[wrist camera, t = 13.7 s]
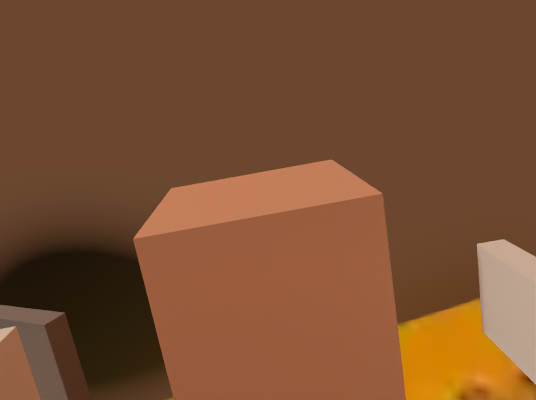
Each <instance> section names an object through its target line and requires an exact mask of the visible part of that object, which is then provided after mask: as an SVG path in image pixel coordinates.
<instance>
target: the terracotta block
mask: <svg viewBox="0 0 536 400" xmlns="http://www.w3.org/2000/svg"><path fill="white" fill-rule="evenodd" d="M133 240H134V244H135V248H136V252H137V256H138V260H139V263H140V268H141V271H142V276H143V280H144V283H145V287H146V291H147V295H148V299H149V303H150V307H151V311H152V315H153V319H154V322H155V327H156V331H157V334H158V339H159V342H160V346H161V350H162V354H163V358H164V362H165V366H166V370H167V374H168V378H169V382H170V386H171V390H172V394H173V398H174V400H406V397H405V388H404V380H403V371H402V362H401V353H400V344H399V335H398V326H397V318H396V309H395V300H394V292H393V282H392V275H391V265H390V256H389V248H388V238H387V229H386V220H385V212H384V203H383V194H382V193H381V192H379V191H378V190H376V189H375V188H373V187H372V186H370V185H369V184H367V183H366V182H364V181H363V180H361V179H360V178H358V177H357V176H355V175H354V174H352V173H351V172H349V171H348V170H346V169H345V168H343V167H342V166H340V165H339V164H337V163H336V162H334V161H333V160H327V161H321V162H316V163H310V164H305V165H299V166H293V167H288V168H283V169H277V170H271V171H266V172H260V173H254V174H249V175H243V176H238V177H232V178H227V179H221V180H216V181H210V182H205V183H199V184H193V185H188V186H182V187H177V188H171V189H170V191H169V192H168V193H167V195H166V196H165V197H164V199H163V200H162V201H161V203H160V204H159V205H158V207H157V208H156V209H155V211H154V212H153V213H152V215H151V216H150V217H149V219H148V220H147V221H146V223H145V224H144V225H143V227H142V228H141V229H140V231H139V232H138V233H137V235H136V236H135V237H134V239H133Z"/></svg>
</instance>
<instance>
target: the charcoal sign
mask: <svg viewBox="0 0 536 400" xmlns="http://www.w3.org/2000/svg"><path fill="white" fill-rule="evenodd" d="M14 326H16V328H17V331H18V334H19V337H20V340H21V343H22V346H23V349H24V352H25V355H26V358H27V361H28V364H29V367H30V370H31V372H32V375H33V378H34V381H35V384H36V387H37V390H38V393H39V396H40V399H41V400H91V397H90V394H89V391H88V388H87V384H86V381H85V378H84V374H83V371H82V368H81V365H80V361H79V358H78V355H77V352H76V348H75V345H74V342H73V338H72V335H71V332H70V329H69V326H68V322H67V319H66V316H65V313H61V312H53V311H45V310H37V309H28V308H20V307H12V306H3V305H0V329H3V328H9V327H14Z"/></svg>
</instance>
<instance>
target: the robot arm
mask: <svg viewBox="0 0 536 400" xmlns="http://www.w3.org/2000/svg"><path fill="white" fill-rule="evenodd" d="M477 252H478V267H479V283H480V299H481V314H482V330H483V332H484V333H485V334H486V335H487V336H488V337H489V338H490V339H491V340H492V341H493V342H494V343H495V344H496V345H497V346H498V347H499V348H500V349H501V350H502V351H503V352H504V353H505V354H506V355H507V356H508V357H509V358H510V359H511V360H512V361H513V362H514V363H515V364H516V365H517V366H518V367H519V368H520V369H521V370H522V371H523V372H524V373H525V374H526V375H527V376H528V377H529V378H530V379H531V380H532V381H533V382H534V383H535V384H536V257H534V256H533V255H531V254H529V253H527V252H526V251H524V250H522V249H520V248H518V247H517V246H515V245H513V244H511V243H509V242H508V241H506V240H504V239H503V240H497V241H491V242H486V243H480V244H477ZM0 400H41V399H40V396H39V393H38V390H37V387H36V384H35V381H34V378H33V375H32V372H31V370H30V367H29V364H28V361H27V358H26V355H25V352H24V349H23V346H22V343H21V340H20V337H19V334H18V331H17V328H16V326H14V327H9V328H3V329H0Z"/></svg>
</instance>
